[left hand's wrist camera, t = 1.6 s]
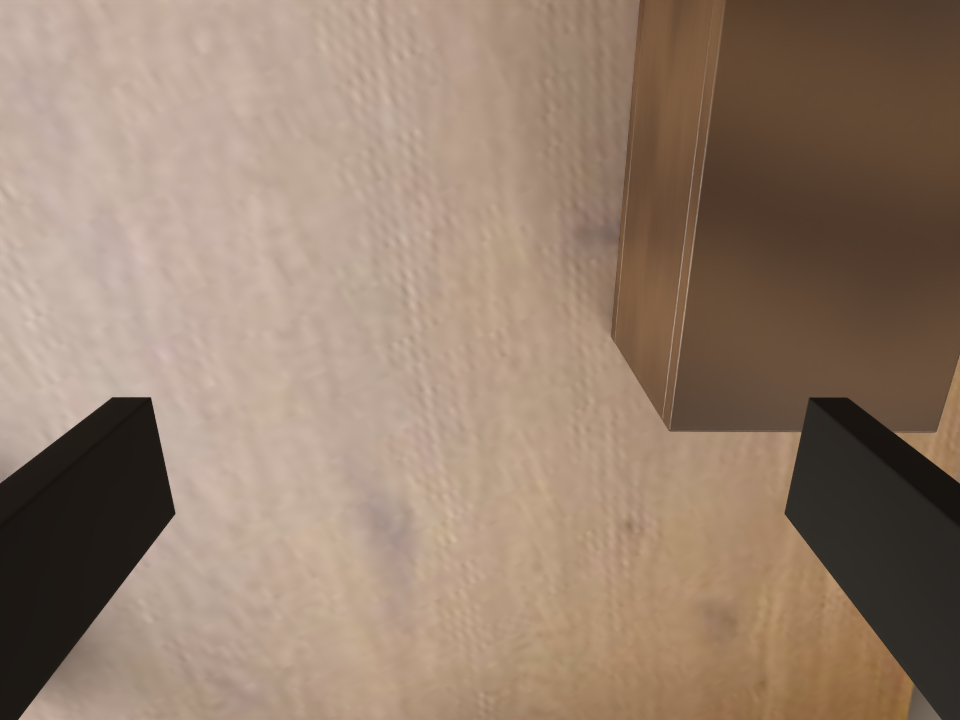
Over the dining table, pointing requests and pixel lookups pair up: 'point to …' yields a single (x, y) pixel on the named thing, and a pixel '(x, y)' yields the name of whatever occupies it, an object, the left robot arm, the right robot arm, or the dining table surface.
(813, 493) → the left robot arm
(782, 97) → the cabinet
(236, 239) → the dining table surface
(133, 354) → the dining table surface
